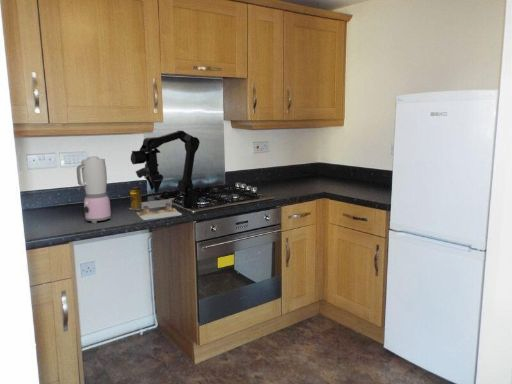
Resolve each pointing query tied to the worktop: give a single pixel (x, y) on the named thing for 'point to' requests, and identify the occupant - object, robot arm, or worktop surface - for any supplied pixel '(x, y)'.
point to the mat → (160, 215)
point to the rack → (147, 212)
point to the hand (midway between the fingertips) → (154, 191)
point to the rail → (156, 203)
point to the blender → (94, 189)
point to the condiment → (135, 198)
